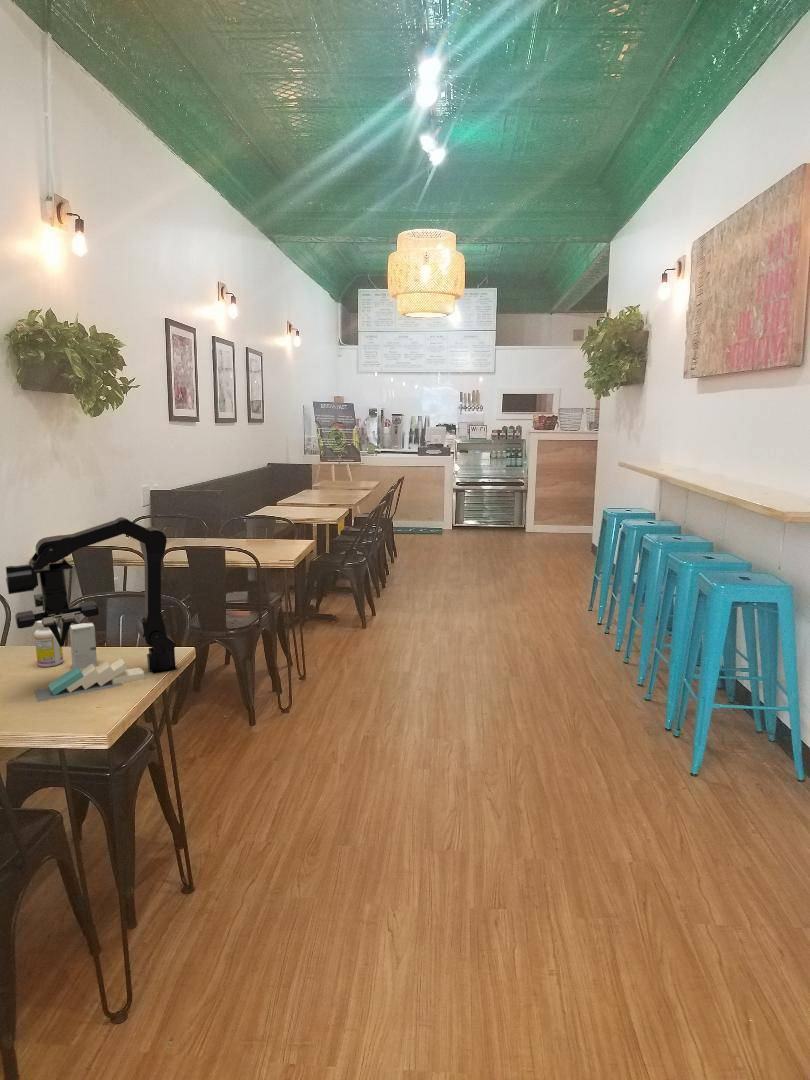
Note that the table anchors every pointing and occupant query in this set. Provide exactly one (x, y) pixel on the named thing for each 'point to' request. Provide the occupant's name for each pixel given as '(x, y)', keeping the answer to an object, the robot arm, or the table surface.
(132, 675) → the domino
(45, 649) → the supplement bottle
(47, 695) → the mat
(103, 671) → the domino
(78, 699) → the table surface
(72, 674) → the teal domino
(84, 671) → the domino
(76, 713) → the table surface
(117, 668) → the domino
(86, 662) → the skincare box
